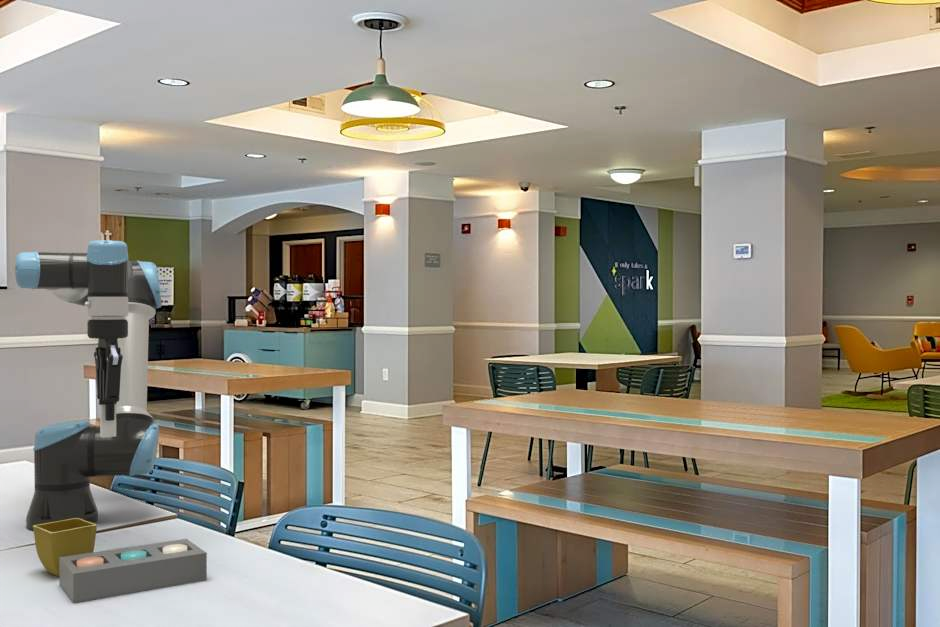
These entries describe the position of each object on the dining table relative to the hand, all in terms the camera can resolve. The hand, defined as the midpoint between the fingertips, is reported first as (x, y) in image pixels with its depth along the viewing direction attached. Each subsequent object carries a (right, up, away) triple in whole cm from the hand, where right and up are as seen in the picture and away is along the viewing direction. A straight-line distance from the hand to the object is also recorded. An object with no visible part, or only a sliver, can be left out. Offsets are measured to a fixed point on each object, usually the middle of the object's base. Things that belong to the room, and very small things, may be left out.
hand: (108, 436), depth 182 cm
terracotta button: (+5, -23, -20) cm, 30 cm away
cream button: (+17, -23, -11) cm, 30 cm away
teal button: (+11, -23, -15) cm, 29 cm away
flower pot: (-5, -25, -9) cm, 27 cm away
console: (+11, -25, -15) cm, 31 cm away
